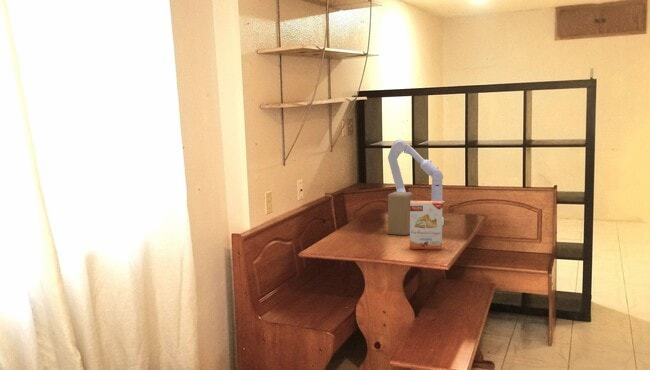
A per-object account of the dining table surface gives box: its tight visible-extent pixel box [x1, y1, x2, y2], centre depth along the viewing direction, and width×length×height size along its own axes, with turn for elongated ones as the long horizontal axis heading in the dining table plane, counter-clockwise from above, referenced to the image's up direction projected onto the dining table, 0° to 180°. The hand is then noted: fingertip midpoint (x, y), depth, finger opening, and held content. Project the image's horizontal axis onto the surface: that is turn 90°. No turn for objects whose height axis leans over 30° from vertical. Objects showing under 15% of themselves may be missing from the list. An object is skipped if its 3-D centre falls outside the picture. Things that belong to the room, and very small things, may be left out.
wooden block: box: [387, 191, 414, 237], centre depth 290 cm, size 10×10×20 cm
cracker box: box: [409, 200, 444, 251], centre depth 259 cm, size 14×6×21 cm, turn 82°
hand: (436, 218), depth 315 cm, fingers closed
